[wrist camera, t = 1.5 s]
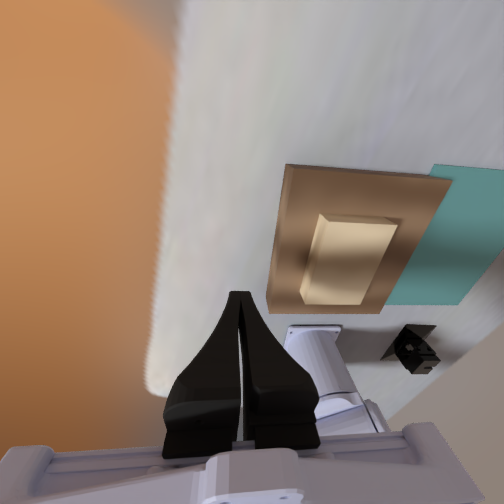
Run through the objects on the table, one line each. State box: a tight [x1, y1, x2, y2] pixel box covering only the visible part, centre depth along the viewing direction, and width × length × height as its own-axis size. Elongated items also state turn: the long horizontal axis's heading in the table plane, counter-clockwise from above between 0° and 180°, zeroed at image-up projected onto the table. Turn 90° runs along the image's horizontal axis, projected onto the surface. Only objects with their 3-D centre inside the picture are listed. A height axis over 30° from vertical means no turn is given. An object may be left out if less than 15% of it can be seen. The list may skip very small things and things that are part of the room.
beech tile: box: [300, 213, 398, 305], centre depth 19 cm, size 9×6×2 cm, turn 176°
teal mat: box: [384, 164, 504, 305], centre depth 24 cm, size 18×14×1 cm
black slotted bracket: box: [380, 324, 441, 374], centre depth 33 cm, size 12×7×5 cm, turn 173°
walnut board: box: [266, 164, 453, 314], centre depth 22 cm, size 16×14×3 cm
